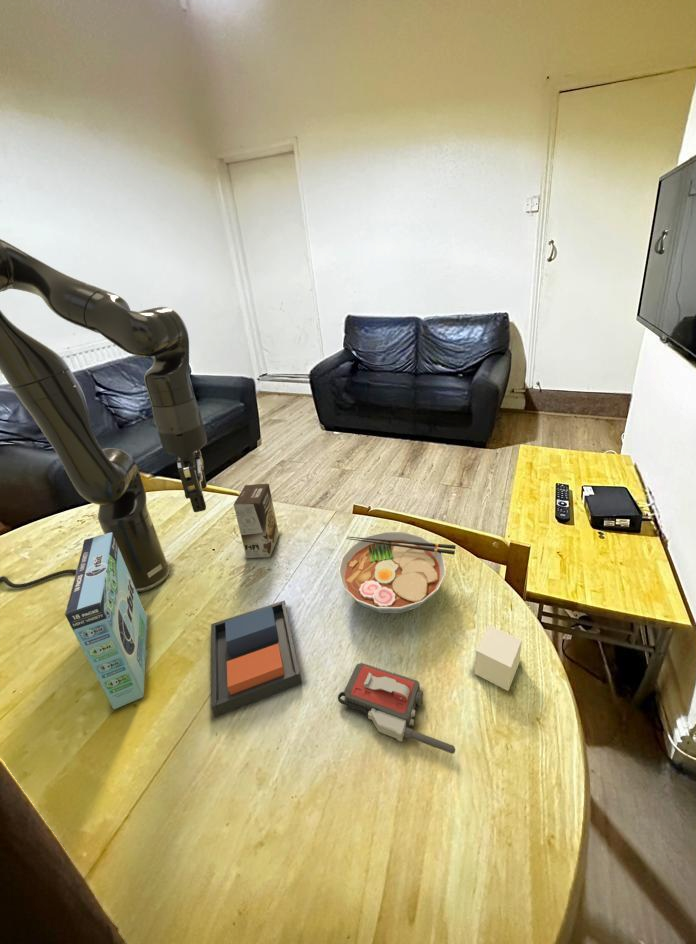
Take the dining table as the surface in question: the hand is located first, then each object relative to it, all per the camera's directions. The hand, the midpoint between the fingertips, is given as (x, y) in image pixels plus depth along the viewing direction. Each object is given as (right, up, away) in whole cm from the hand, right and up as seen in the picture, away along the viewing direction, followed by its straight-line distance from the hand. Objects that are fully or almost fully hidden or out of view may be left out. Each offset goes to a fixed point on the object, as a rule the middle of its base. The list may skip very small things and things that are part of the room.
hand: (200, 498), depth 81 cm
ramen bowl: (+38, -22, +9) cm, 45 cm away
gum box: (-12, -31, -2) cm, 33 cm away
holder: (+12, -29, -3) cm, 32 cm away
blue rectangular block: (+11, -27, 0) cm, 29 cm away
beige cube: (+56, -29, -8) cm, 64 cm away
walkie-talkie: (+39, -33, -14) cm, 52 cm away
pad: (+14, -31, -8) cm, 35 cm away
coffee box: (+5, -17, +26) cm, 31 cm away
